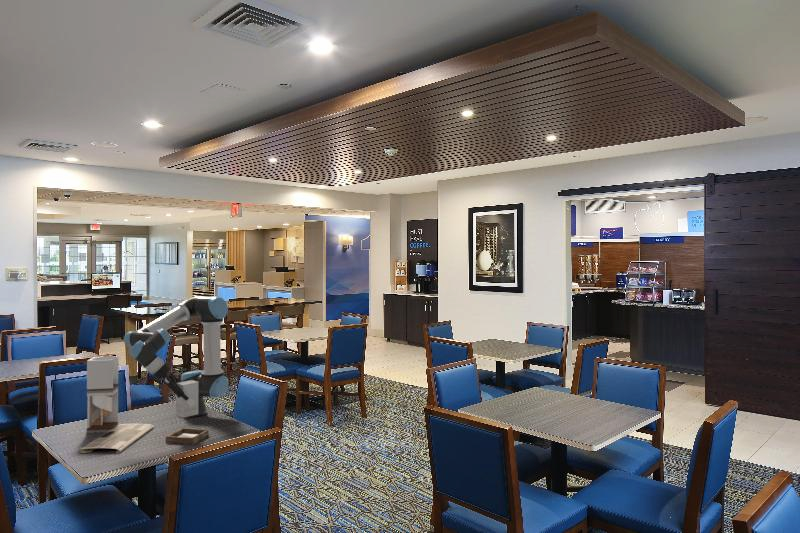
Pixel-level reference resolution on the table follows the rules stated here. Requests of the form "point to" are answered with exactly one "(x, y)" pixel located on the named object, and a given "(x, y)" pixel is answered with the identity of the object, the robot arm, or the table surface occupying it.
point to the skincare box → (182, 406)
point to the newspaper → (118, 437)
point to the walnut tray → (187, 436)
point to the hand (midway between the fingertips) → (194, 401)
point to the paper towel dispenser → (102, 394)
